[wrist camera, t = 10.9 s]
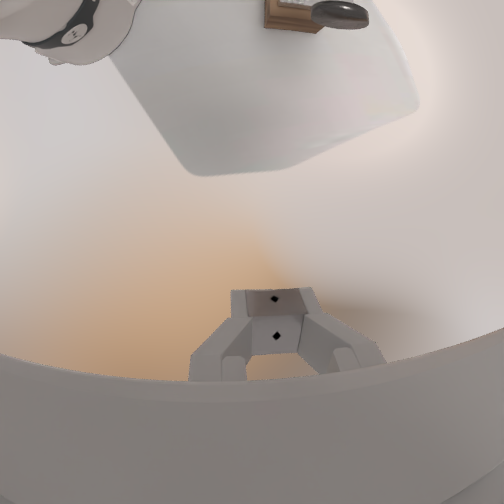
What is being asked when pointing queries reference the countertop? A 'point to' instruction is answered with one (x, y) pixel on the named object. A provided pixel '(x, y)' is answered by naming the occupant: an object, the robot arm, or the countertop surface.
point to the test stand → (289, 18)
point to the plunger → (332, 12)
